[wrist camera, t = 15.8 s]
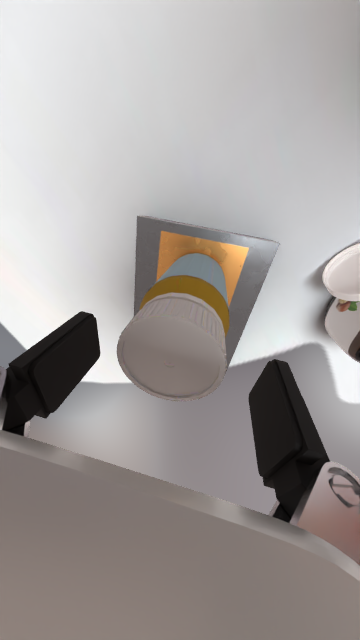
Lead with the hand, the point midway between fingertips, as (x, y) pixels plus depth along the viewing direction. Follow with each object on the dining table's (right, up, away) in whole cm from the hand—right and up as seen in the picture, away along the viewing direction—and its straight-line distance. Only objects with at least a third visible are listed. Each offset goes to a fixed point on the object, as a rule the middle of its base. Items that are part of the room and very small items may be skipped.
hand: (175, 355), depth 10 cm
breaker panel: (+2, +4, +18) cm, 19 cm away
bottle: (+2, +7, +13) cm, 15 cm away
